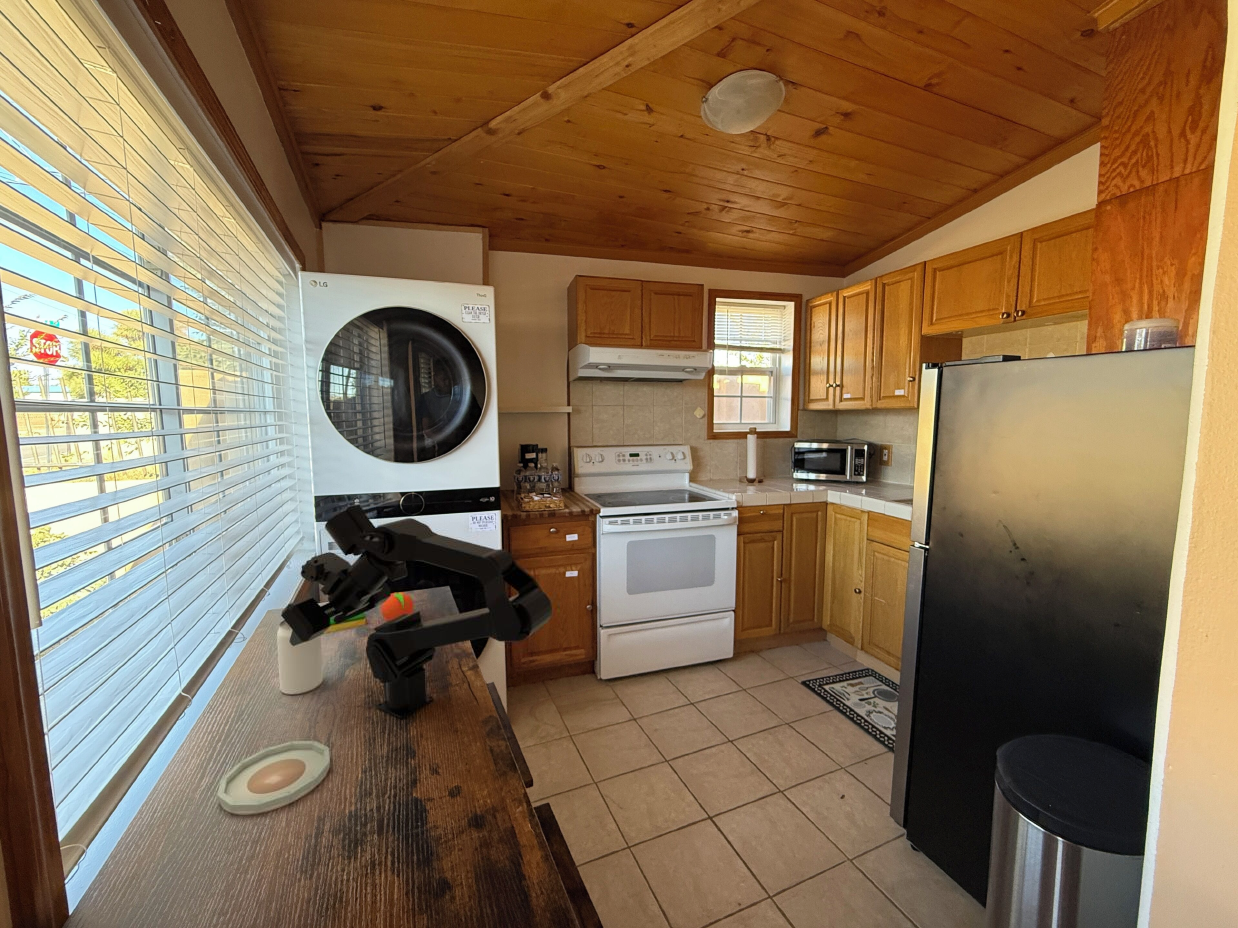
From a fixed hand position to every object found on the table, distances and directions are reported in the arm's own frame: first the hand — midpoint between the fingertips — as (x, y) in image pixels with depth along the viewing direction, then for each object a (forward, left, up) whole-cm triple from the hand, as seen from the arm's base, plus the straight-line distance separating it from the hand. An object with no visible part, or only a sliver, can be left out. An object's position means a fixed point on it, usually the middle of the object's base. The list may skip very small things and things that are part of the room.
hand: (314, 632), depth 88 cm
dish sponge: (+24, -17, -11) cm, 32 cm away
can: (+3, +1, -10) cm, 11 cm away
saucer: (-18, +16, -10) cm, 26 cm away
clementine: (+12, -26, -10) cm, 31 cm away
